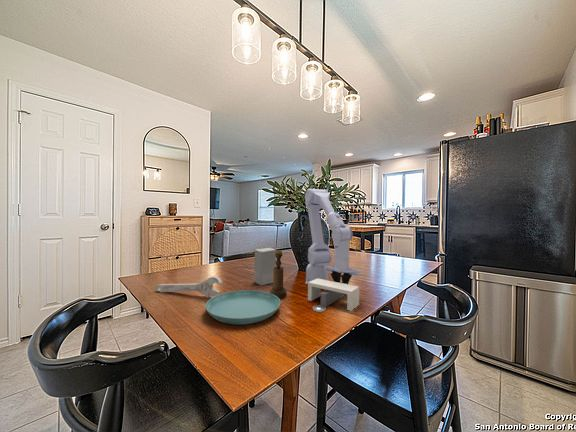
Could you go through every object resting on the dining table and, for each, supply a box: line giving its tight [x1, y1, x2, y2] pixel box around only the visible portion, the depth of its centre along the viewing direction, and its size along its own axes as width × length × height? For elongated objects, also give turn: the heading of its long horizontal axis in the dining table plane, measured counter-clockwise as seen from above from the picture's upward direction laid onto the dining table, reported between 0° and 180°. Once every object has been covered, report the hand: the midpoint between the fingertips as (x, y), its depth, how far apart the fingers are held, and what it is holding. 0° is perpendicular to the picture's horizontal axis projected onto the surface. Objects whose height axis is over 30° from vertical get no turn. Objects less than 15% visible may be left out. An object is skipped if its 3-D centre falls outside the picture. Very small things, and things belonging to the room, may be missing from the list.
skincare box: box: [254, 247, 277, 286], centre depth 111 cm, size 8×7×16 cm
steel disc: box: [312, 304, 327, 313], centre depth 81 cm, size 4×4×1 cm
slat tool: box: [320, 281, 350, 307], centre depth 92 cm, size 5×20×4 cm, turn 143°
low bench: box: [307, 278, 360, 312], centre depth 88 cm, size 17×7×7 cm, turn 53°
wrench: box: [155, 275, 223, 299], centre depth 94 cm, size 8×2×30 cm
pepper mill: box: [269, 249, 288, 300], centre depth 94 cm, size 7×6×18 cm
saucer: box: [205, 289, 281, 326], centre depth 79 cm, size 24×24×3 cm
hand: (341, 291), depth 96 cm, fingers closed on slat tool, 2 cm apart
